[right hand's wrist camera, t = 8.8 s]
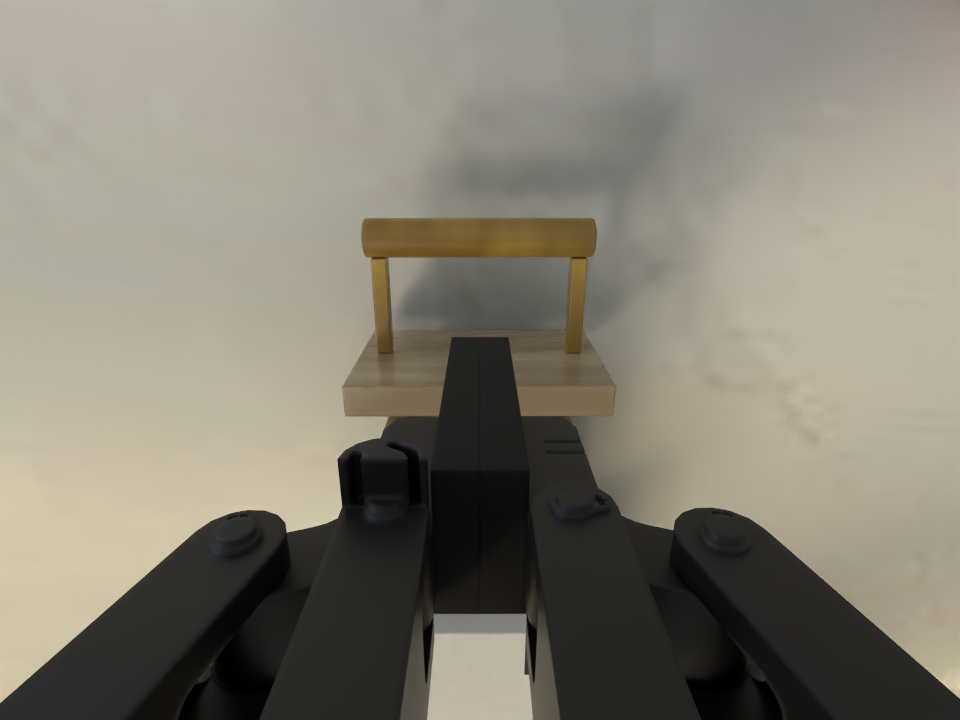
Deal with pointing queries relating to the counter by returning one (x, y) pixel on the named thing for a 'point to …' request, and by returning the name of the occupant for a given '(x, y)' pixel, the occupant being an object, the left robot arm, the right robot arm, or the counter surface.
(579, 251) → the drawer
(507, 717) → the cabinet
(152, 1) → the counter surface
